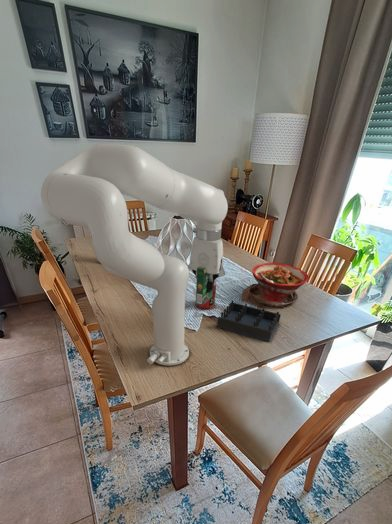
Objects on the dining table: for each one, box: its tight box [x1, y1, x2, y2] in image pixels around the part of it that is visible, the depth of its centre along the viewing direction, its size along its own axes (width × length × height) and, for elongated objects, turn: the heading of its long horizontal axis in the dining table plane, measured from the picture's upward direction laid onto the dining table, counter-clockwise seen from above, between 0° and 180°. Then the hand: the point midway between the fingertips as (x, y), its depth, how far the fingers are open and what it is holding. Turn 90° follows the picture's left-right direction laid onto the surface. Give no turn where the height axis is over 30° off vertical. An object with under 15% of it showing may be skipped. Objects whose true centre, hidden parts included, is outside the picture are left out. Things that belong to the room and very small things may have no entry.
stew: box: [240, 262, 309, 309], centre depth 124 cm, size 28×24×16 cm
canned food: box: [195, 279, 217, 311], centre depth 118 cm, size 8×8×11 cm
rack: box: [216, 299, 282, 343], centre depth 108 cm, size 20×14×6 cm
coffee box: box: [195, 267, 213, 306], centre depth 98 cm, size 8×3×13 cm, turn 151°
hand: (204, 289), depth 99 cm, fingers closed on coffee box, 3 cm apart
